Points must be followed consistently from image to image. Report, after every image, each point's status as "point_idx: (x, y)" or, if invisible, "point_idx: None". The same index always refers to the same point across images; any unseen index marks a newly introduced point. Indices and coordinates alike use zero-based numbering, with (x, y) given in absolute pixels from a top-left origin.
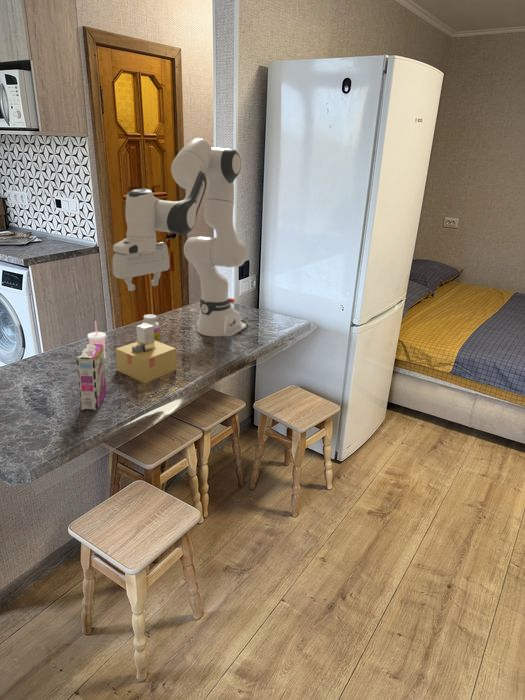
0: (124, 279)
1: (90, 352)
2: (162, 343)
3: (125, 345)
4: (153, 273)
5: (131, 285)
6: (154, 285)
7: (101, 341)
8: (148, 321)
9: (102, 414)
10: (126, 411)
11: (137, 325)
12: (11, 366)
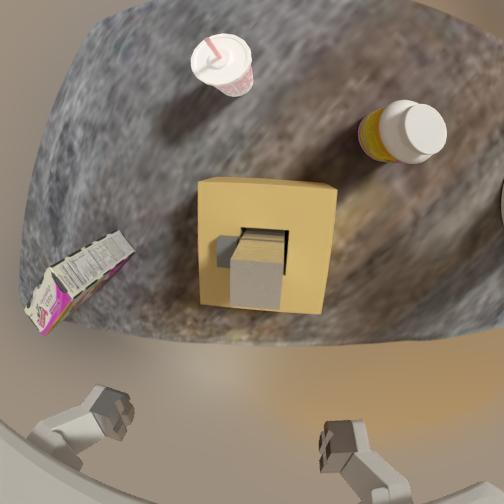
0: (38, 427)
1: (42, 313)
2: (328, 260)
3: (236, 183)
4: (372, 496)
5: (94, 434)
6: (319, 442)
7: (220, 86)
8: (402, 139)
9: (103, 300)
10: (132, 322)
11: (236, 260)
12: (99, 25)
